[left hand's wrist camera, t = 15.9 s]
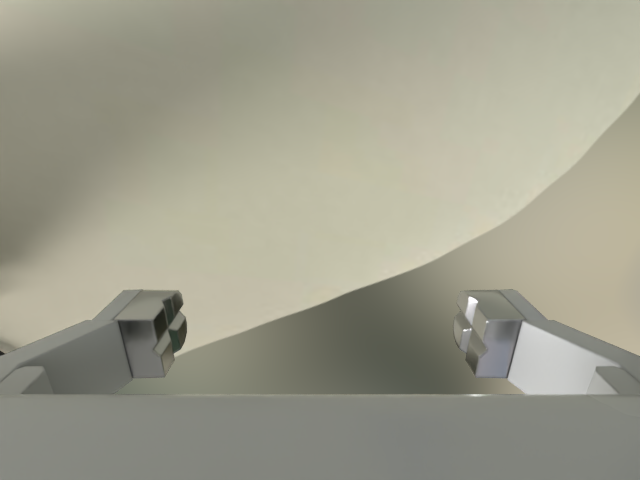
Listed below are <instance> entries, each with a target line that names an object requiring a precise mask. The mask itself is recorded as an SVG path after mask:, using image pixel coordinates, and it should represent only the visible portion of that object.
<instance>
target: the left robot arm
mask: <svg viewBox="0 0 640 480" xmlns="http://www.w3.org/2000/svg"><path fill="white" fill-rule="evenodd" d="M182 305H183V299H182V294H181V293H180V292H179V291H178V290H143V289H139V290H123V291H122V292H121V293H120V294H119V295H118V296H117V297H116V298H115V299H114V300H113V301H112V302H111V303H110V304H109V305H108V306H106V307H105V308H104V309H103V310H102V311H101V312H100V313H99V314H98V315H97V316H96V317H95V318H94V319H93V320H86V321H83V322H81V323H78V324H76V325H74V326H71V327H69V328H66V329H64V330H62V331H59V332H57V333H54V334H52V335H50V336H47V337H45V338H42V339H40V340H38V341H35V342H33V343H30V344H28V345H26V346H23V347H21V348H18V349H16V350H14V351H11V352H9V353H6V354H4V353H3V352H1V351H0V480H640V356H638V355H636V354H633V353H631V352H629V351H626V350H624V349H621V348H619V347H617V346H614V345H612V344H609V343H607V342H605V341H602V340H600V339H597V338H595V337H593V336H590V335H588V334H585V333H583V332H581V331H578V330H576V329H574V328H571V327H569V326H566V325H564V324H562V323H559V322H557V321H554V320H547V319H546V318H545V317H544V316H543V315H542V314H541V313H540V312H539V311H538V310H537V309H536V308H535V307H534V306H533V305H531V304H530V303H529V302H528V301H527V300H526V299H525V298H524V297H523V296H522V295H521V294H520V293H519V292H518V291H516V290H513V289H509V290H469V291H460V293H459V295H458V299H457V305H458V307H459V308H460V310H461V311H460V312H459V313H458V314H457V315H456V316H455V317H454V324H453V332H454V338H455V342H456V344H457V346H458V348H459V349H460V350H461V351H463V352H465V353H466V362H467V364H468V365H469V367H470V369H471V371H472V372H473V374H474V376H475V377H477V378H508V381H510V382H511V383H512V384H514V385H515V386H516V387H518V388H519V389H520V390H522V391H523V392H524V393H526V394H115V393H116V392H117V391H119V390H120V389H121V388H122V387H124V386H125V385H126V384H128V383H129V382H130V381H132V378H162V377H165V376H166V374H167V372H168V371H169V369H170V367H171V365H172V364H173V362H174V353H175V352H177V351H179V350H180V349H181V348H182V346H183V344H184V342H185V338H186V333H187V322H186V317H185V316H184V315H183V314H182V313H181V312H180V311H179V310H180V308H181V307H182Z"/></svg>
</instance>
